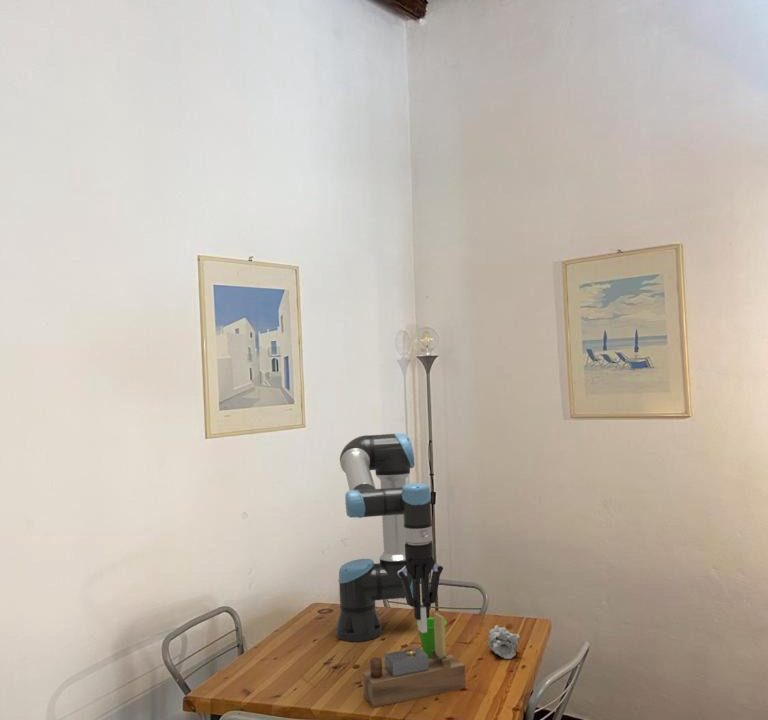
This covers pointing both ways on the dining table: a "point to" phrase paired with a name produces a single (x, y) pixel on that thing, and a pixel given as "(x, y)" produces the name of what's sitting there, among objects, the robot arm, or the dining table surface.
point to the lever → (439, 637)
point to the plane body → (412, 681)
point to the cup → (428, 637)
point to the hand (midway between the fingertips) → (422, 630)
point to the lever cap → (406, 662)
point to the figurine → (503, 642)
